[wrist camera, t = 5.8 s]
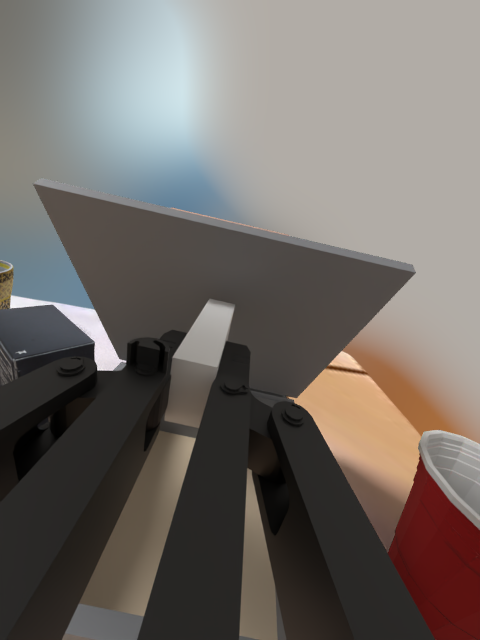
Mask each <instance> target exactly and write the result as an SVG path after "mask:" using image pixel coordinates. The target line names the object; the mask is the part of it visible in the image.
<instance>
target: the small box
mask: <svg viewBox="0 0 480 640" xmlns="http://www.w3.org/2000/svg"><path fill="white" fill-rule="evenodd" d="M94 346H95V342H94V341H93V340H92V339H91V338H89V337H88V336H87V335H86V334H85V333H84V332H83V331H81V330H80V329H79V328H78V327H77V326H76V325H75V324H74V323H72V322H71V321H70V320H69V319H68V318H67V317H66V316H65V315H64V314H62V313H61V312H60V311H59V310H58V309H57V308H56V307H55V306H54V305H44V306H34V307H24V308H12V309H0V386H2V385H4V384H6V383H9V382H11V381H13V380H15V379H17V378H19V377H21V376H24V375H26V374H28V373H30V372H32V371H34V370H36V369H38V368H41V367H43V366H45V365H47V364H49V363H51V362H53V361H56V360H59V359H62V358H66V357H72V356H77V357H78V356H79V357H86V358H90V359H92V360H93V361H94ZM47 422H49V421H48V418H46V419H45V420H43V421H42V422H40V423H39V424H37V426H38V427H40V426H42V425H44V424H46V423H47Z"/></svg>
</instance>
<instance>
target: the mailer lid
mask: <svg viewBox="0 0 480 640" xmlns="http://www.w3.org/2000/svg"><path fill="white" fill-rule="evenodd" d="M33 185H34V187H35V189H36V191H37V193H38V195H39V197H40V199H41V201H42V203H43V205H44V207H45V209H46V211H47V213H48V215H49V217H50V219H51V221H52V223H53V225H54V227H55V229H56V231H57V234H58V235H59V237H60V240H61V242H62V244H63V246H64V247H65V250H66V252H67V254H68V256H69V258H70V260H71V262H72V264H73V266H74V268H75V270H76V272H77V274H78V276H79V278H80V280H81V282H82V284H83V286H84V288H85V290H86V292H87V294H88V296H89V298H90V300H91V302H92V304H93V306H94V308H95V310H96V312H97V314H98V316H99V318H100V320H101V322H102V325H103V327H104V329H105V331H106V333H107V335H108V337H109V339H110V341H111V343H112V345H113V347H114V349H115V351H116V353H117V355H118V357H119V359H121V360H126V361H127V343H128V342H130V341H131V340H133V339H137V338H144V337H150V338H157V339H160V338H161V336H162V335H163V334H164V333H166V332H168V331H171V330H176V331H181V332H185V333H188V332H189V330H190V329H191V327H192V326H193V324H194V322H195V321H196V319H197V318H198V316H199V315H200V313H201V311H202V310H203V308H204V307H205V305H206V304H207V302H208V300H209V299H214V300H218V301H223V302H227V303H231V304H235V308H234V313H233V317H232V322H231V326H230V331H229V335H228V340H227V341H228V342H233V343H237V344H242V345H246V346H247V347H248V349H249V350H250V352H251V355H250V372H249V387H250V388H253V389H257V390H262V391H266V392H271V393H275V394H280V395H284V396H289V397H294V398H297V397H298V396H299V395H300V394H301V393H302V392H303V391H304V390H305V389H306V388H307V387H308V386H309V385H310V383H311V382H312V381H313V380H314V379H315V378H316V377H317V376H318V375H319V374H320V373H321V372H322V371H323V370H324V369H325V368H326V367H327V366H328V365H329V364H330V362H331V361H332V360H333V359H334V358H335V357H336V356H337V355H338V354H339V353H340V352H341V351H342V350H343V349H344V348H345V346H347V344H349V342H350V341H351V340H352V339H353V338H354V337H355V336H356V335H357V334H358V333H359V332H360V331H361V330H362V329H363V328H364V327H365V326H366V325H367V324H368V322H369V321H370V320H371V319H372V318H373V317H374V316H375V315H376V314H377V313H378V312H379V311H380V310H381V309H382V308H383V307H384V306H385V304H386V303H388V301H389V300H390V299H391V298H392V297H393V296H394V295H395V294H396V293H397V292H398V291H399V290H400V289H401V288H402V287H403V286H404V285H405V283H406V282H407V281H408V280H409V279H410V278H411V277H412V276H413V275H414V274H415V273H416V272H415V270H414V267H413V265H411V264H407V263H403V262H399V261H394V260H390V259H386V258H382V257H377V256H373V255H369V254H364V253H360V252H356V251H351V250H347V249H343V248H339V247H334V246H330V245H326V244H321V243H317V242H312V241H309V240H304V239H300V238H296V237H292V236H289V235H286V234H282V233H278V232H273V231H269V230H265V229H261V228H256V227H252V226H248V225H244V224H239V223H235V222H231V221H226V220H222V219H217V218H214V217H209V216H205V215H201V214H196V213H192V212H188V211H184V210H179V209H175V208H167V207H163V206H159V205H154V204H150V203H146V202H141V201H137V200H133V199H129V198H124V197H120V196H116V195H111V194H107V193H103V192H99V191H94V190H90V189H86V188H82V187H77V186H73V185H69V184H64V183H60V182H56V181H52V180H47V179H43V178H41V179H39V180H38V181H36V182H34V183H33Z"/></svg>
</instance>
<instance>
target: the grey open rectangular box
mask: <svg viewBox="0 0 480 640" xmlns="http://www.w3.org/2000/svg"><path fill="white" fill-rule="evenodd" d="M125 366H126V363H124V362H121V363H120V364H119V365H118V366H117V367H116V368H115V369H114V370H113V371H120V370H122V369H123V368H124V367H125ZM251 393H252V395H253V396H254V397H255V398H256V399H258V400H259V401H261V402H262V403H264V404H266V405H268V406H270V407H272V408H273V406H274V404H276V403H278V402H282V401H288V402H293V403H294V400H291V399H287V398H282V397H278V396H273V395H269V394H264V393H260V392H255V391H251ZM164 419H165V413H164V415H163V417H162V419H161V423H160V430H159V433H158V436H157V438H156V440H155V442H154V444H153V446H152V448H151V450H150V453H149V455H148V457H147V459H146V461H145V463H144V465H143V468H142V470H141V472H140V474H139V476H138V478H137V480H136V483H135V485H134V487H133V489H132V491H131V493H130V495H129V498H128V500H127V502H126V504H125V506H124V508H123V510H122V512H121V515H120V517H119V519H118V521H117V523H116V525H115V527H114V530H113V532H112V534H111V536H110V538H109V540H108V542H107V545H106V547H105V549H104V551H103V553H102V555H101V557H100V559H99V562H98V564H97V566H96V568H95V570H94V572H93V574H92V577H91V579H90V581H89V583H88V585H87V587H86V589H85V592H84V594H83V596H82V598H81V600H80V602H79V604H78V607H77V609H76V611H75V613H74V615H73V617H72V619H71V621H70V624H69V626H68V628H67V630H66V632H65V634H64V636H63V639H62V640H137V638H138V635H139V631H140V628H141V624H142V621H143V617H144V614H145V611H146V607H147V604H148V600H149V597H150V594H151V590H152V587H153V583H154V580H155V576H156V573H157V570H158V566H159V563H160V559H161V556H162V552H163V549H164V546H165V542H166V539H167V535H168V532H169V529H170V525H171V522H172V518H173V515H174V511H175V508H176V505H177V501H178V498H179V494H180V491H181V488H182V484H183V481H184V477H185V474H186V470H187V467H188V464H189V460H190V457H191V453H192V450H193V447H194V443H195V440H196V436H197V433H198V429H199V428H196V427H191V426H187V425H182V424H178V423H173V422H169V421H164ZM239 640H286V635H285V630H284V626H283V621H282V616H281V611H280V607H279V602H278V597H277V592H276V587H275V583H274V578H273V573H272V568H271V564H270V559H269V554H268V549H267V545H266V540H265V535H264V530H263V526H262V521H261V516H260V511H259V507H258V502H257V497H256V492H255V487H254V483H253V478H252V470H250V469H248V468H247V488H246V508H245V529H244V550H243V571H242V591H241V612H240V633H239Z"/></svg>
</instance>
